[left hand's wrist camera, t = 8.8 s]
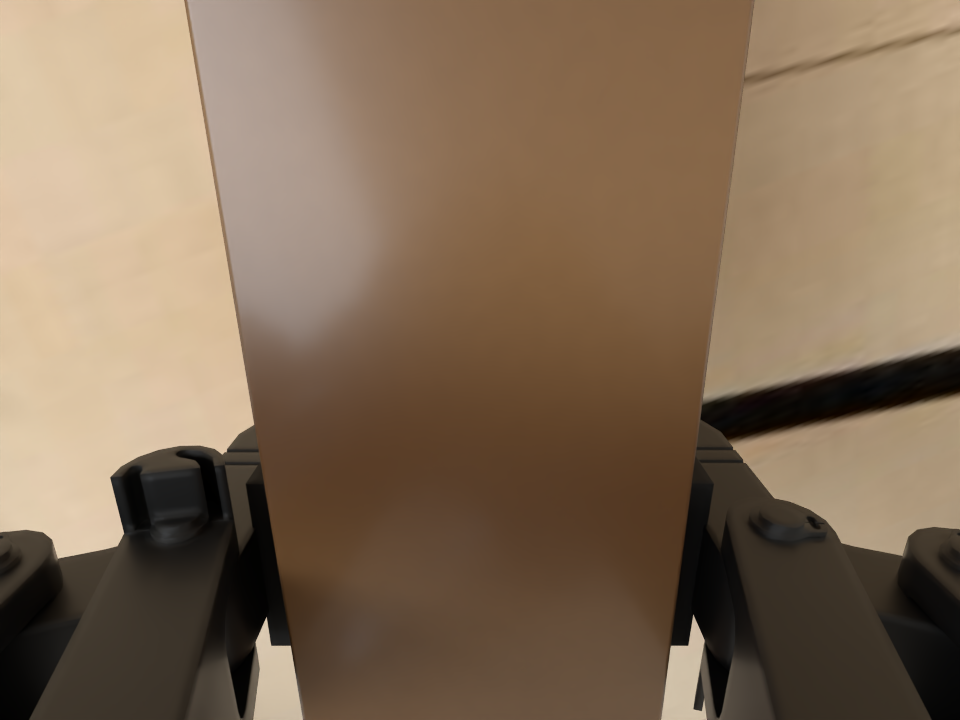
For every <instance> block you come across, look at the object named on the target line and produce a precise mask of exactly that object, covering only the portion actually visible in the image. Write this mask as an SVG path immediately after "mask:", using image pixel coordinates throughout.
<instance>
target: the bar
mask: <svg viewBox="0 0 960 720" xmlns="http://www.w3.org/2000/svg"><path fill="white" fill-rule="evenodd" d="M184 1H185V7H186V13H187V19H188V25H189V31H190V37H191V43H192V49H193V56H194V62H195V68H196V74H197V80H198V86H199V92H200V98H201V104H202V110H203V116H204V122H205V128H206V134H207V140H208V146H209V152H210V158H211V165H212V171H213V177H214V183H215V189H216V195H217V201H218V207H219V213H220V219H221V225H222V231H223V237H224V243H225V249H226V255H227V261H228V267H229V274H230V280H231V286H232V292H233V298H234V304H235V310H236V316H237V322H238V328H239V334H240V340H241V346H242V352H243V358H244V364H245V370H246V376H247V383H248V389H249V395H250V401H251V407H252V413H253V419H254V425H255V431H256V437H257V443H258V449H259V455H260V461H261V467H262V473H263V479H264V485H265V492H266V498H267V504H268V510H269V516H270V522H271V528H272V534H273V540H274V546H275V552H276V558H277V564H278V570H279V576H280V582H281V588H282V594H283V601H284V607H285V613H286V619H287V625H288V631H289V637H290V643H291V649H292V655H293V661H294V667H295V673H296V679H297V685H298V691H299V697H300V703H301V710H302V716H303V720H661V716H662V709H663V701H664V693H665V685H666V678H667V670H668V662H669V655H670V647H671V639H672V632H673V624H674V616H675V608H676V601H677V593H678V585H679V578H680V570H681V562H682V554H683V547H684V539H685V531H686V524H687V516H688V508H689V501H690V493H691V485H692V477H693V470H694V462H695V454H696V447H697V439H698V431H699V424H700V416H701V408H702V400H703V393H704V385H705V377H706V370H707V362H708V354H709V347H710V339H711V331H712V323H713V316H714V308H715V300H716V293H717V285H718V277H719V269H720V262H721V254H722V246H723V239H724V231H725V223H726V216H727V208H728V200H729V192H730V185H731V177H732V169H733V162H734V154H735V146H736V139H737V131H738V123H739V115H740V108H741V100H742V92H743V85H744V77H745V69H746V61H747V54H748V46H749V38H750V31H751V23H752V15H753V8H754V0H184Z"/></svg>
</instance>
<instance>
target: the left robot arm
mask: <svg viewBox="0 0 960 720" xmlns="http://www.w3.org/2000/svg"><path fill="white" fill-rule="evenodd" d="M110 478H111V482H112V486H113V490H114V494H115V498H116V502H117V506H118V510H119V514H120V518H121V522H122V526H123V530H124V535H123V537H122V539H121V541H120V543H119V545H118V546H117V547H113V548H109V549H105V550H100V551H95V552H90V553H85V554H80V555H75V556H70V557H64V558H59V559H58V558H57V555H56V552H55V548H54V545H53V542H52V539H50V538H49V537H48V536H47V535H45V534H44V533H43V532H36V531H29V530H21V531H12V532H1V533H0V720H253V716H254V709H255V701H256V693H257V685H258V678H259V670H260V668H259V661H258V654H257V648H256V639H257V637H258V635H259V633H260V630H261V628H262V626H263V624H264V621H265V619H266V617H267V621H268V627H269V634H270V640H271V646H291V643H290V637H289V631H288V625H287V619H286V613H285V607H284V601H283V594H282V588H281V582H280V576H279V570H278V564H277V558H276V552H275V546H274V540H273V534H272V528H271V522H270V516H269V510H268V504H267V498H266V492H265V485H264V479H263V473H262V467H261V461H260V455H259V449H258V443H257V437H256V431H255V425H253V426H252V427H250V428H249V429H247V430H245V431H244V432H242V433H240V434H239V435H238V436H237V438H236V439H235V440H234V441H233V443H232V444H231V445H230V446H229V448H228V449H227V452H225V453H224V454H223V455H222V454H221V453H219V452H218V451H216V450H215V449H212V448H207V447H203V446H178V447H173V448H167V449H162V450H158V451H155V452H152V453H149V454H146V455H143V456H140V457H138V458H136V459H134V460H132V461H131V462H129V463H127V464H125V465H123V466H122V467H120V468H119V469H118V470H117V471H116V472H115V473H114V474H113V475H112V476H111V477H110ZM693 615H694V617H695V619H696V621H697V624H698V626H699V628H700V630H701V633H702V635H703V637H704V639H705V642H704V648H703V654H702V660H701V666H700V672H699V677H698V683H697V689H696V695H695V702H694V709H695V710H700V711H702V707H703V701H704V700H705V707H706V715H707V720H960V530H959V529H948V528H938V527H932V528H925V529H918V530H916V531H915V532H914V533H913V534H911V535H910V536H909V537H908V540H907V543H906V547H905V550H904V553H903V556H900V555H895V554H889V553H884V552H879V551H874V550H869V549H864V548H858V547H854V546H850V545H846V544H842V543H841V542H840V540H839V538H838V536H837V534H836V532H835V531H834V530H833V529H832V527H831V526H830V525H829V524H828V523H827V521H826V520H824V519H823V518H821V517H820V516H818V515H817V514H815V513H814V512H812V511H811V510H809V509H806V508H804V507H801V506H799V505H796V504H794V503H792V502H788V501H784V500H779V499H774V498H773V497H772V495H771V494H770V493H769V492H768V490H767V489H766V488H765V487H764V485H763V484H762V483H761V482H760V480H759V479H758V478H757V477H756V475H755V474H754V473H753V472H752V470H751V469H750V468H749V467H748V465H747V464H746V463H743V459H742V458H741V457H740V455H739V454H738V453H737V452H736V450H733V447H732V445H731V444H730V443H729V442H728V440H727V439H726V438H725V437H724V435H723V434H722V433H721V432H720V431H718V430H717V429H715V428H713V427H712V426H710V425H708V424H707V423H705V422H703V421H702V420H700V424H699V431H698V439H697V447H696V454H695V462H694V470H693V477H692V485H691V493H690V501H689V508H688V516H687V524H686V531H685V539H684V547H683V554H682V562H681V570H680V578H679V585H678V593H677V601H676V608H675V616H674V624H673V632H672V639H671V646H688V644H689V637H690V631H691V625H692V619H693Z"/></svg>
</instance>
